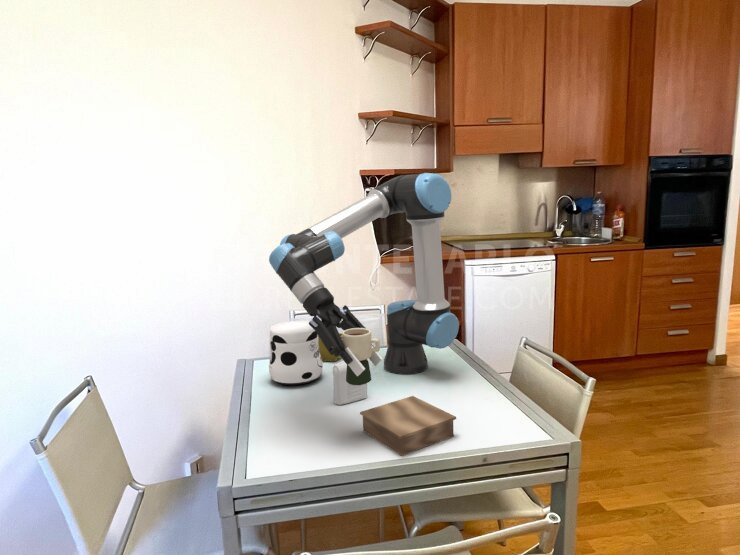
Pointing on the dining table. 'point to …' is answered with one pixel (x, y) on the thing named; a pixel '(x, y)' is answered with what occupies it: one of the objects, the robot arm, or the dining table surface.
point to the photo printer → (346, 386)
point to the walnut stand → (407, 424)
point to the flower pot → (326, 352)
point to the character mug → (359, 352)
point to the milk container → (294, 353)
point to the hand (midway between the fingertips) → (370, 367)
